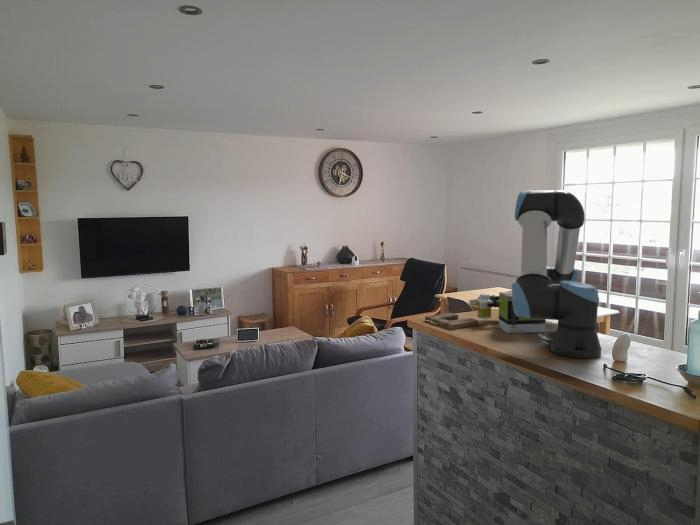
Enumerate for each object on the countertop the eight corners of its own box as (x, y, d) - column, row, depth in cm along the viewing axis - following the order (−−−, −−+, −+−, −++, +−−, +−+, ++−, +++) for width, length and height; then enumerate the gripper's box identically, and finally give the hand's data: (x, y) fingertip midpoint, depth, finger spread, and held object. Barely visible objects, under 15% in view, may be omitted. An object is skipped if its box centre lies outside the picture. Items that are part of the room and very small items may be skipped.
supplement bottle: (481, 319, 200) (482, 295, 199) (475, 316, 205) (475, 293, 204) (493, 318, 201) (494, 295, 200) (486, 315, 206) (487, 292, 205)
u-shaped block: (478, 325, 199) (478, 320, 199) (452, 329, 192) (452, 324, 192) (450, 317, 214) (450, 312, 213) (425, 320, 207) (425, 316, 207)
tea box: (534, 326, 197) (536, 290, 195) (545, 333, 187) (547, 295, 185) (497, 327, 196) (499, 290, 194) (506, 333, 186) (507, 295, 185)
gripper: (532, 311, 203) (491, 317, 192) (498, 304, 219) (459, 309, 208) (533, 293, 203) (492, 298, 191) (499, 287, 218) (459, 291, 207)
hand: (475, 304), depth 200 cm, fingers closed on supplement bottle, 5 cm apart
